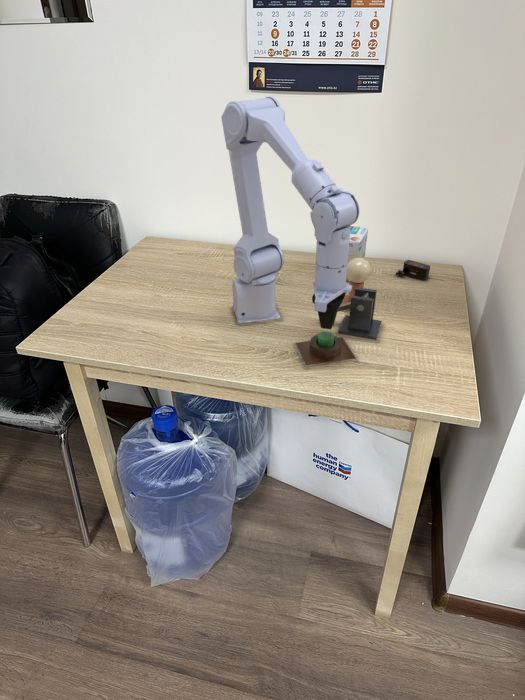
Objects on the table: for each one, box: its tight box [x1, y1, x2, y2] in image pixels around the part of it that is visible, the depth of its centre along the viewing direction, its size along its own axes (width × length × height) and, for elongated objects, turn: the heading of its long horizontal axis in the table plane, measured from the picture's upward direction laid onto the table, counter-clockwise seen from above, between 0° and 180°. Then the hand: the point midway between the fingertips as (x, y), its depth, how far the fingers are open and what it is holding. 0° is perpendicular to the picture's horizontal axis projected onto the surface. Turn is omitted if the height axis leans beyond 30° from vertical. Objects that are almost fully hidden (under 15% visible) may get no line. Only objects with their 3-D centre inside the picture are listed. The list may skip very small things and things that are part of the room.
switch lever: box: [337, 293, 370, 313], centre depth 109 cm, size 11×3×3 cm, turn 71°
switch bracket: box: [337, 287, 383, 341], centre depth 109 cm, size 8×7×9 cm
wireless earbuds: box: [395, 259, 431, 281], centre depth 132 cm, size 5×7×3 cm, turn 51°
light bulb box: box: [346, 225, 369, 282], centre depth 132 cm, size 11×7×11 cm, turn 159°
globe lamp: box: [341, 258, 372, 312], centre depth 116 cm, size 6×6×12 cm
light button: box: [317, 331, 335, 347], centre depth 102 cm, size 3×3×2 cm
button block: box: [295, 333, 357, 366], centre depth 103 cm, size 10×8×3 cm
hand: (326, 327), depth 101 cm, fingers closed
